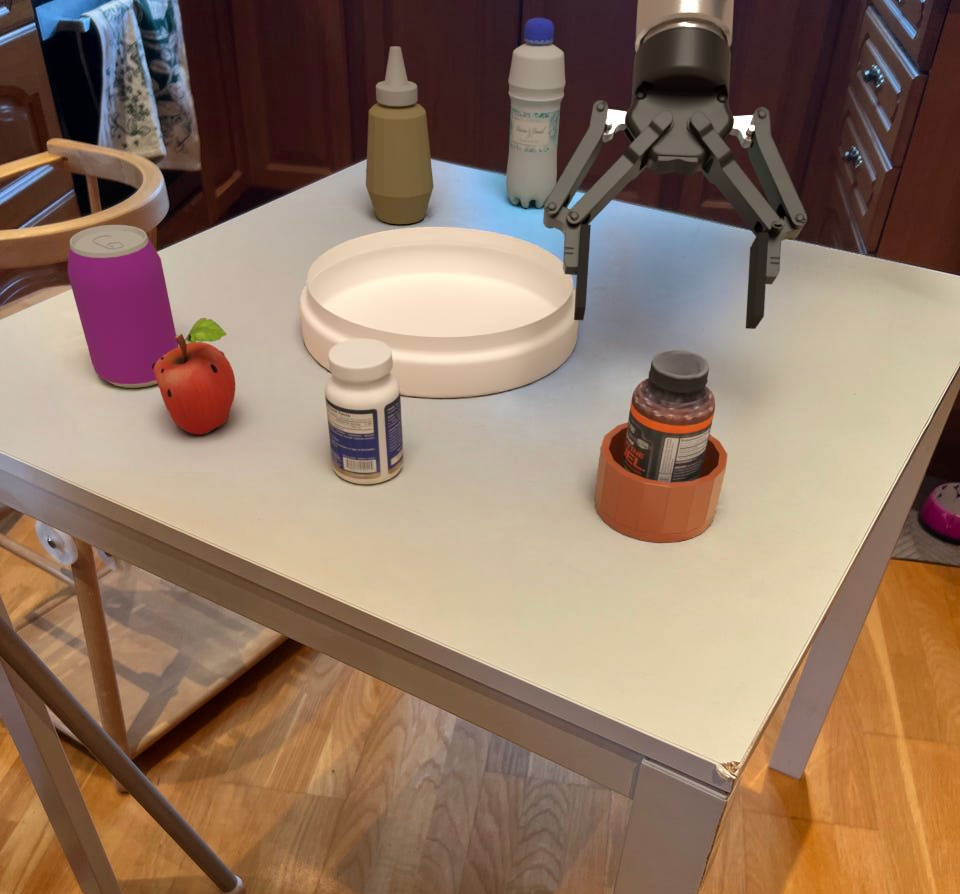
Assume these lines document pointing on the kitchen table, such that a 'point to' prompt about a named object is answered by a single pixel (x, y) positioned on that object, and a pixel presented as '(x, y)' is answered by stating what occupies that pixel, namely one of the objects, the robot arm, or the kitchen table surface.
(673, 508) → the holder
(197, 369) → the apple
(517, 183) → the bottle
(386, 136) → the squeeze bottle
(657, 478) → the supplement bottle
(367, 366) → the pill bottle
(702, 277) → the kitchen table surface
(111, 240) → the beverage can
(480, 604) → the kitchen table surface
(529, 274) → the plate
